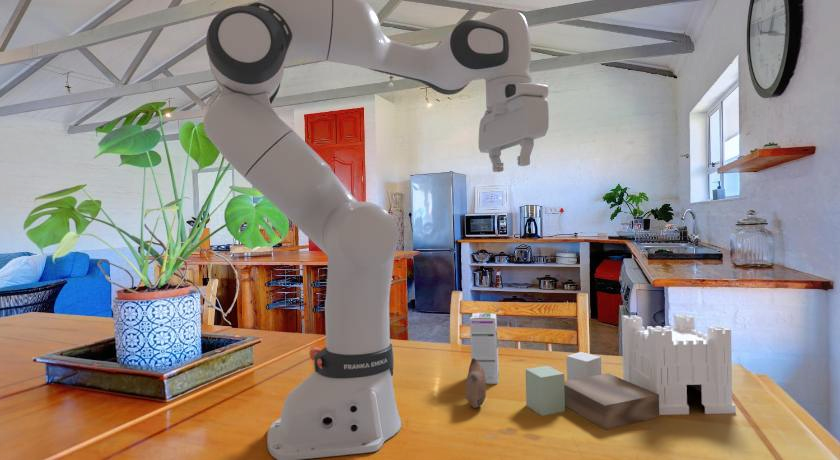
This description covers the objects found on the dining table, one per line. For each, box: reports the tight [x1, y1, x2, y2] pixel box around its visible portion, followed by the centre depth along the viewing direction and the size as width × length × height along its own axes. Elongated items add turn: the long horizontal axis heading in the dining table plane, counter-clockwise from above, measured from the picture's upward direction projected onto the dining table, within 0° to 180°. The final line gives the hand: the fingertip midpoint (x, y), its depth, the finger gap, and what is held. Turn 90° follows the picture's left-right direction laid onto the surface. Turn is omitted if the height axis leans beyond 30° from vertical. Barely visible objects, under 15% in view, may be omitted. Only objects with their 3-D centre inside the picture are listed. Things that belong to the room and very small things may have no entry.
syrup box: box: [469, 312, 500, 385], centre depth 98 cm, size 6×6×14 cm
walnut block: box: [564, 372, 660, 430], centre depth 81 cm, size 12×12×4 cm
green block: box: [525, 365, 566, 417], centre depth 82 cm, size 5×5×7 cm
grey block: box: [566, 351, 602, 381], centre depth 94 cm, size 5×5×6 cm
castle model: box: [621, 313, 737, 416], centre depth 85 cm, size 14×14×15 cm
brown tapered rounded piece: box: [464, 358, 487, 409], centre depth 85 cm, size 9×4×8 cm, turn 175°
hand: (510, 168), depth 86 cm, fingers open, 8 cm apart
